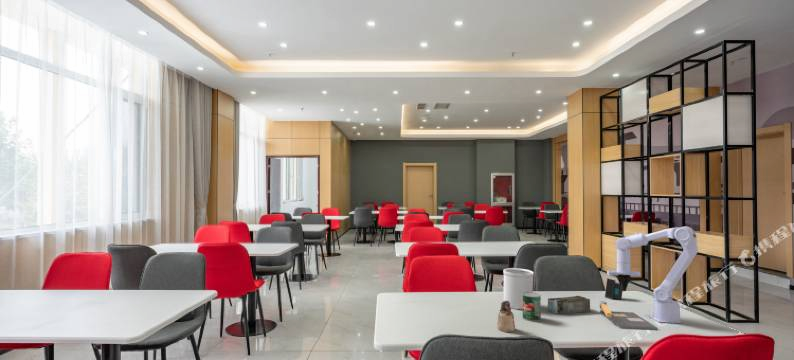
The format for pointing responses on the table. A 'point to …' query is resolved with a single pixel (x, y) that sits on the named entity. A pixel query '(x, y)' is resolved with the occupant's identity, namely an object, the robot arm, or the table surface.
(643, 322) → the panel
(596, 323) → the table surface
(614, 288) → the speaker
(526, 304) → the canned tomato
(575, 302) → the beverage carton
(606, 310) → the swing arm
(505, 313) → the figurine
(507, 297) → the utensil holder
